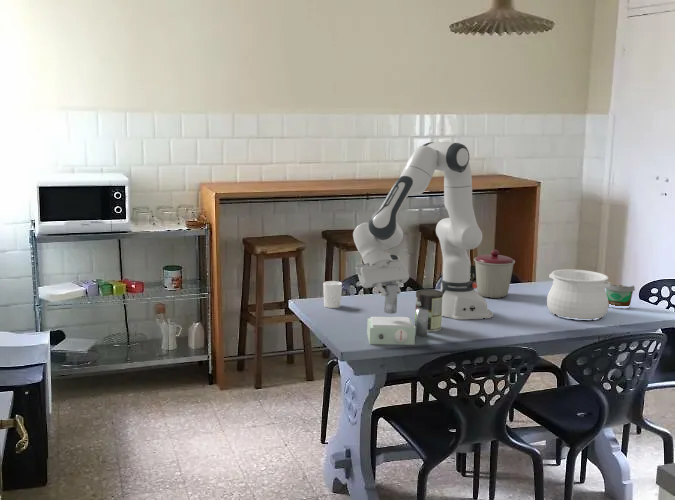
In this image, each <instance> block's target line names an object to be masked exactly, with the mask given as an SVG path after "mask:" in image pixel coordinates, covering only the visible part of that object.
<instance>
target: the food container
mask: <svg viewBox="0 0 675 500" xmlns="http://www.w3.org/2000/svg"><path fill="white" fill-rule="evenodd" d="M635 289H636V288H635V285H632V286H626V285H621V284H610V286H609V287H605V291H606V294H607V297H608V302H609V304H611V305H615V306H629V305H630V306H631V303H632V297H633V294H634V291H635Z"/></svg>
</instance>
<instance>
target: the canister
mask: <svg viewBox="0 0 675 500" xmlns="http://www.w3.org/2000/svg"><path fill="white" fill-rule="evenodd" d="M473 261H474V262H475V279H476V282H475V283H476V284H477V286H478V287H477V288H476V292H477V293H479V294H480V295H481V296H482V297H483V298H488V297H490V298H489V299H501V297H502V298H505V297H507V295H508V293H509V289H510V286H511V285H510V284H511V280H512V274H513V269H514V264H515V263H516V261H515V259H513V258H512V257H510V256H506V255H502V254H500V252H499V250H498V249H492V250H491V251H490V254H481V255H480V254H479V255H478V256H477V257H474V258H473Z"/></svg>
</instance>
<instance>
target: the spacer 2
mask: <svg viewBox="0 0 675 500" xmlns="http://www.w3.org/2000/svg"><path fill="white" fill-rule="evenodd" d="M415 312H416V328H415V337H419V338H426V337H428V332H427V328H428V309H427V308H417V309H416V308H415Z"/></svg>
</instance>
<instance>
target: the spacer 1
mask: <svg viewBox="0 0 675 500" xmlns="http://www.w3.org/2000/svg"><path fill="white" fill-rule="evenodd" d="M384 289H387V292H388V294H387V295H386V296H384V307H383V308H384V313H385V314H392V315H393V314H396V313H397V308H398V307H397V306H398V294H397V289H398V285H396V284H386V285H385V288H384Z"/></svg>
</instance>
